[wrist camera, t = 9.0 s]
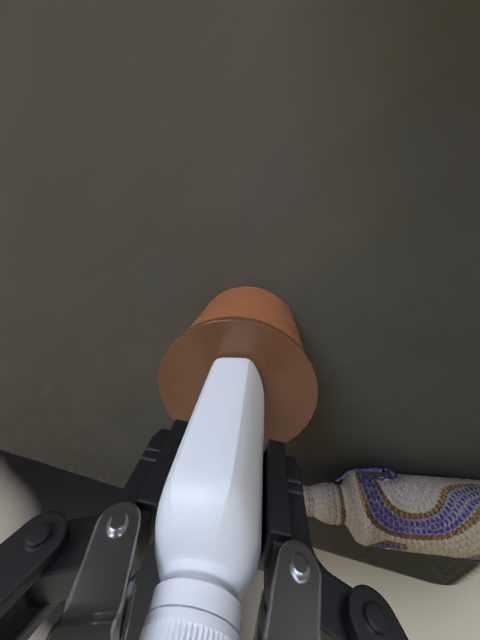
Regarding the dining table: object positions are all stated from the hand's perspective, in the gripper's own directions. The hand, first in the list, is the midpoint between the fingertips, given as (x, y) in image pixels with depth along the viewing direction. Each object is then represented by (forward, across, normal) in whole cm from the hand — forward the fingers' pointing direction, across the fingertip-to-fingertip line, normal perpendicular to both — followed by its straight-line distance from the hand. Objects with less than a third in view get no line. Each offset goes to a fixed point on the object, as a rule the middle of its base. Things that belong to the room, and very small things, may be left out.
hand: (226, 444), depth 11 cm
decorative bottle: (+13, -20, +14) cm, 28 cm away
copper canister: (+13, 0, 0) cm, 13 cm away
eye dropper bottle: (+4, 0, 0) cm, 4 cm away
